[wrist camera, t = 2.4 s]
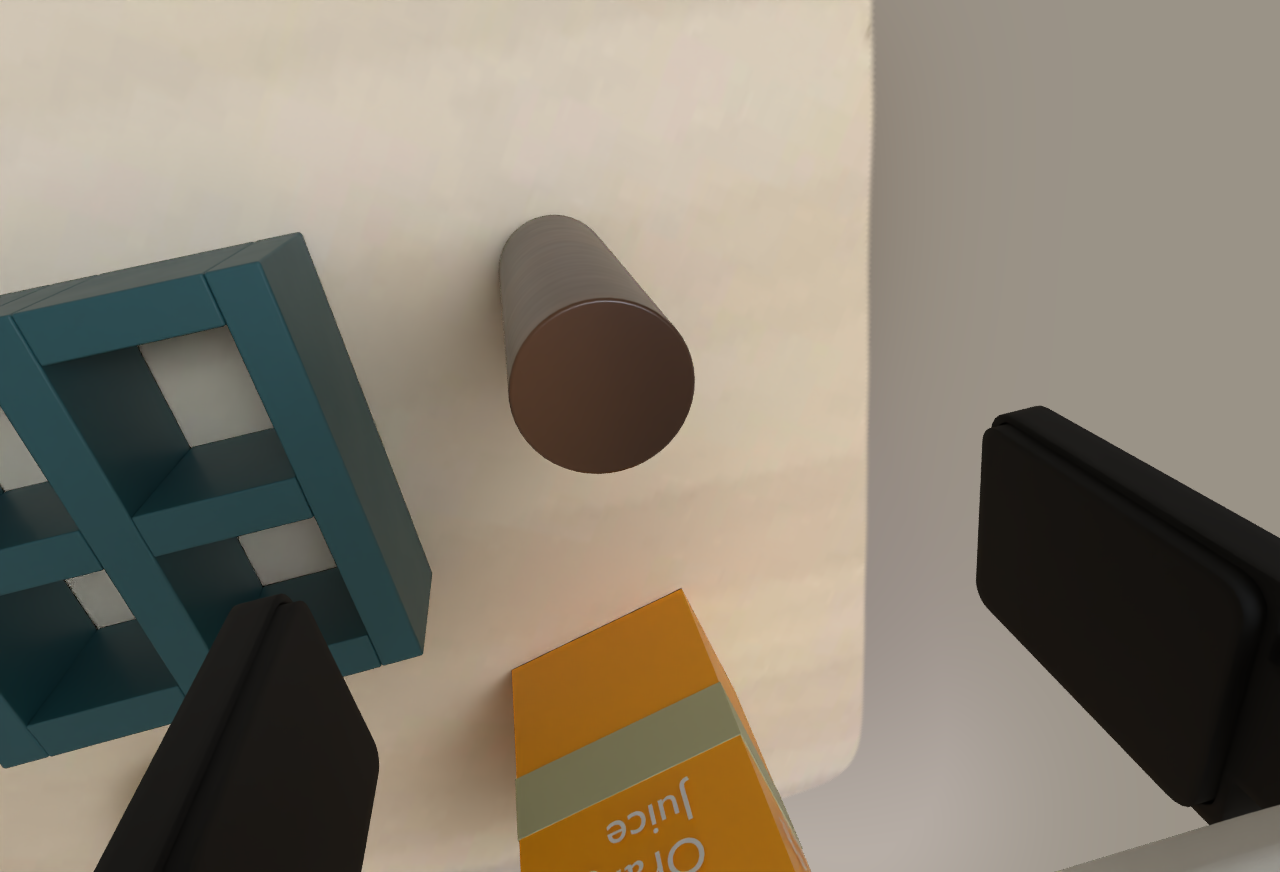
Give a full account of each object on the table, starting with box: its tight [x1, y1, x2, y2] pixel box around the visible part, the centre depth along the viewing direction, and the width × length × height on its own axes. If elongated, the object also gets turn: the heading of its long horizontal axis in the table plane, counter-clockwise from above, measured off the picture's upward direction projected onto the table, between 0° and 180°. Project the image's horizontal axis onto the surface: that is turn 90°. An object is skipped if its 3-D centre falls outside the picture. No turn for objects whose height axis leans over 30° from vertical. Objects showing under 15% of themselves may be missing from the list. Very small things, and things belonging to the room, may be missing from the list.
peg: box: [499, 215, 695, 474], centre depth 21 cm, size 4×4×12 cm
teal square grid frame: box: [0, 232, 432, 768], centre depth 24 cm, size 14×14×5 cm
